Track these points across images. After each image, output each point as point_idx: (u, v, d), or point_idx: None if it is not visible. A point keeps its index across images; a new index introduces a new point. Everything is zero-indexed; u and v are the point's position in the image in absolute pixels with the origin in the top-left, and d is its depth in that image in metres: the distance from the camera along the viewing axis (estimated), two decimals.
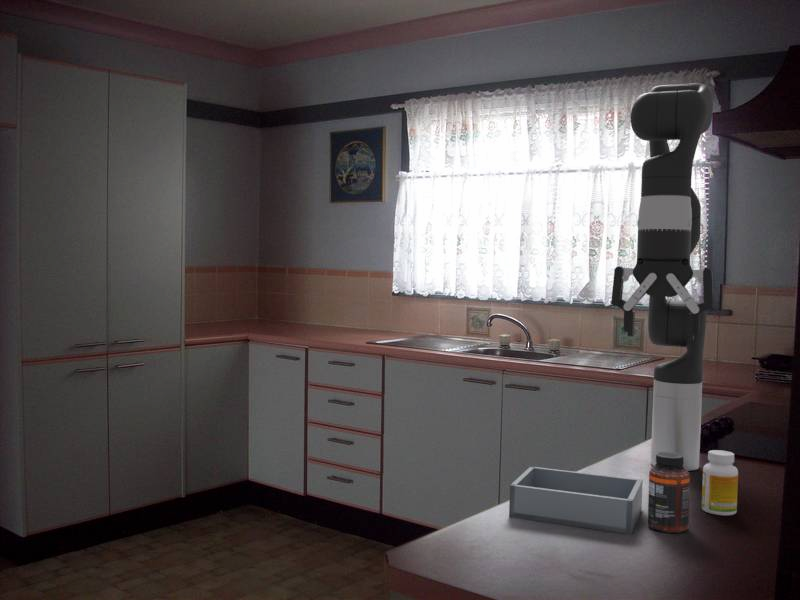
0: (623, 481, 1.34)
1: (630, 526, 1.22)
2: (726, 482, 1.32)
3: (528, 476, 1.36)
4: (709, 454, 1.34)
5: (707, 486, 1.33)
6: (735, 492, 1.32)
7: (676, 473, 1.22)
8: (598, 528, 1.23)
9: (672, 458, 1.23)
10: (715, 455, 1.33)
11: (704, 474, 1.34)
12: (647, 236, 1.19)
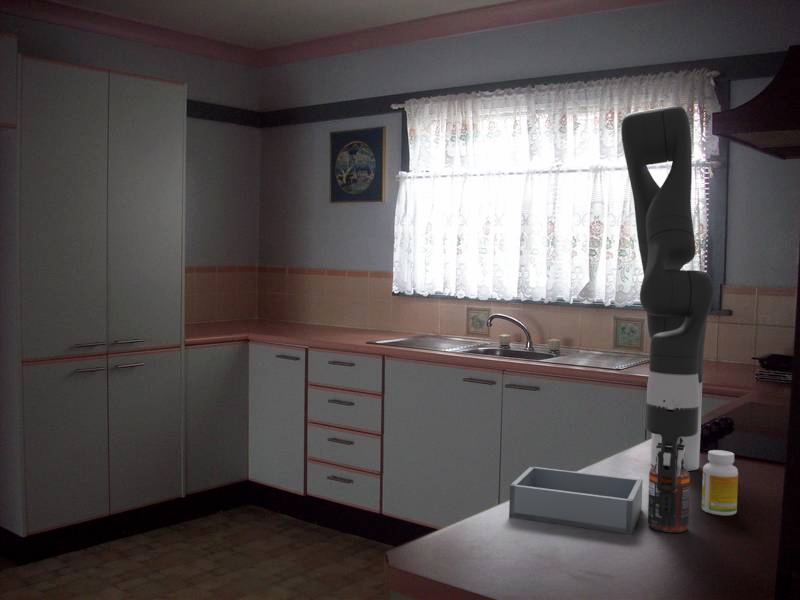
0: (623, 481, 1.34)
1: (630, 526, 1.22)
2: (726, 482, 1.32)
3: (528, 476, 1.36)
4: (709, 454, 1.34)
5: (707, 486, 1.33)
6: (735, 492, 1.32)
7: None
8: (598, 528, 1.23)
9: None
10: (715, 455, 1.33)
11: (704, 474, 1.34)
12: (692, 414, 1.21)
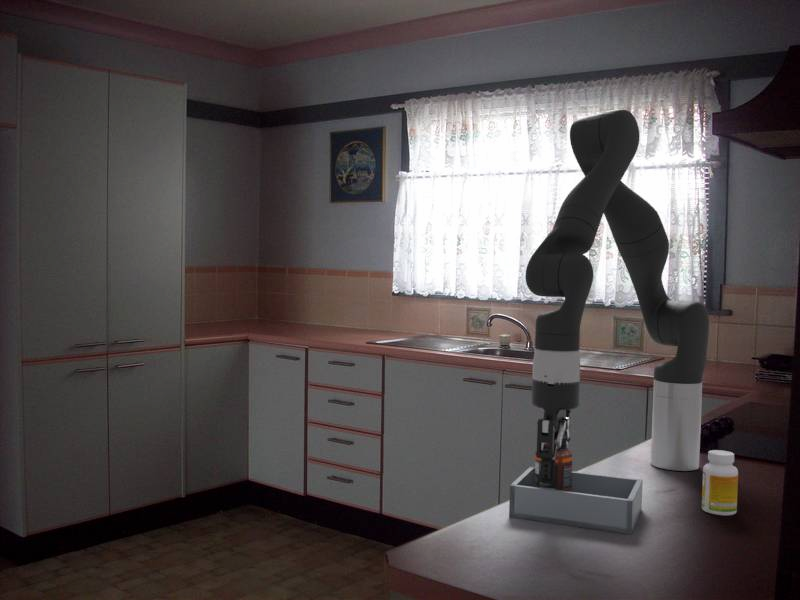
0: (623, 481, 1.34)
1: (630, 526, 1.22)
2: (726, 482, 1.32)
3: (528, 476, 1.36)
4: (709, 454, 1.34)
5: (707, 486, 1.33)
6: (735, 492, 1.32)
7: (558, 452, 1.30)
8: (598, 528, 1.23)
9: None
10: (715, 455, 1.33)
11: (704, 474, 1.34)
12: (572, 389, 1.29)
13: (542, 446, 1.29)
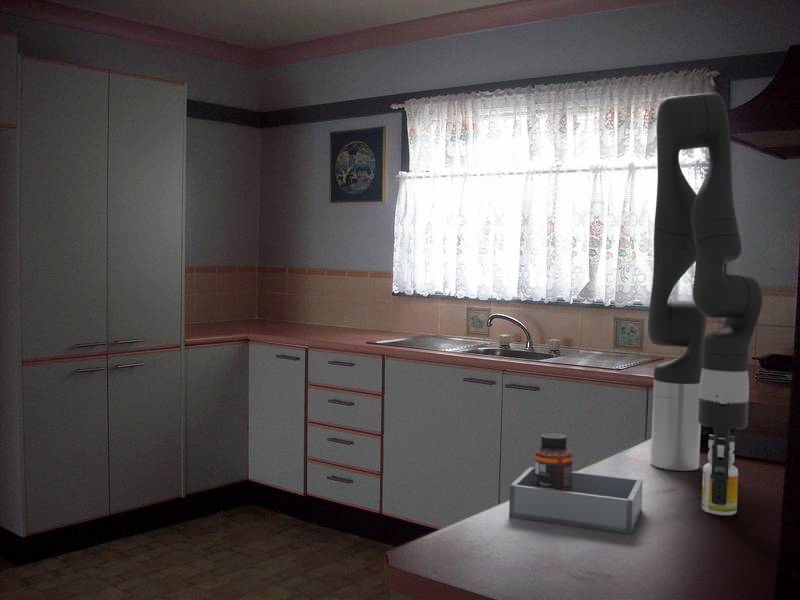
0: (623, 481, 1.34)
1: (630, 526, 1.22)
2: (727, 482, 1.32)
3: (528, 476, 1.36)
4: (709, 454, 1.34)
5: (707, 486, 1.33)
6: (735, 492, 1.32)
7: (558, 453, 1.30)
8: (598, 528, 1.23)
9: (554, 438, 1.31)
10: None
11: (704, 474, 1.34)
12: (743, 408, 1.31)
13: None
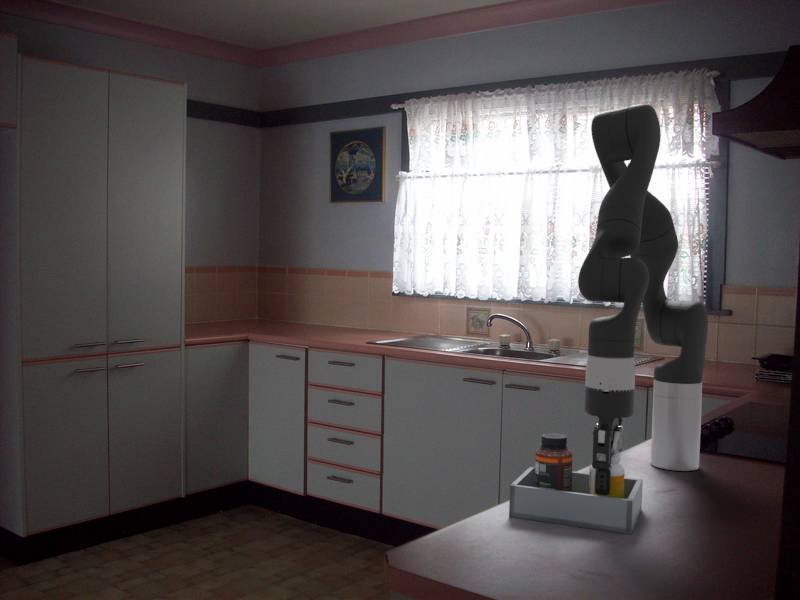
0: None
1: (630, 526, 1.22)
2: (611, 482, 1.27)
3: (528, 476, 1.36)
4: None
5: (592, 486, 1.29)
6: (620, 492, 1.28)
7: (558, 453, 1.30)
8: (598, 528, 1.23)
9: (554, 438, 1.31)
10: None
11: (590, 473, 1.29)
12: (628, 396, 1.26)
13: (597, 456, 1.26)
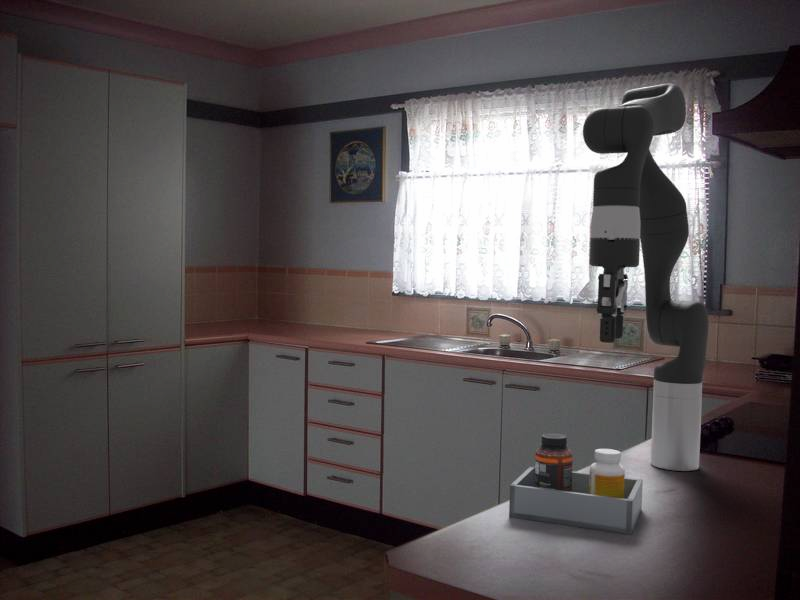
0: None
1: (630, 526, 1.22)
2: (611, 482, 1.27)
3: (528, 476, 1.36)
4: (595, 453, 1.29)
5: (592, 486, 1.29)
6: (621, 492, 1.28)
7: (558, 453, 1.30)
8: (598, 528, 1.23)
9: (554, 439, 1.31)
10: (600, 454, 1.28)
11: (590, 473, 1.29)
12: (633, 245, 1.25)
13: (602, 304, 1.25)
